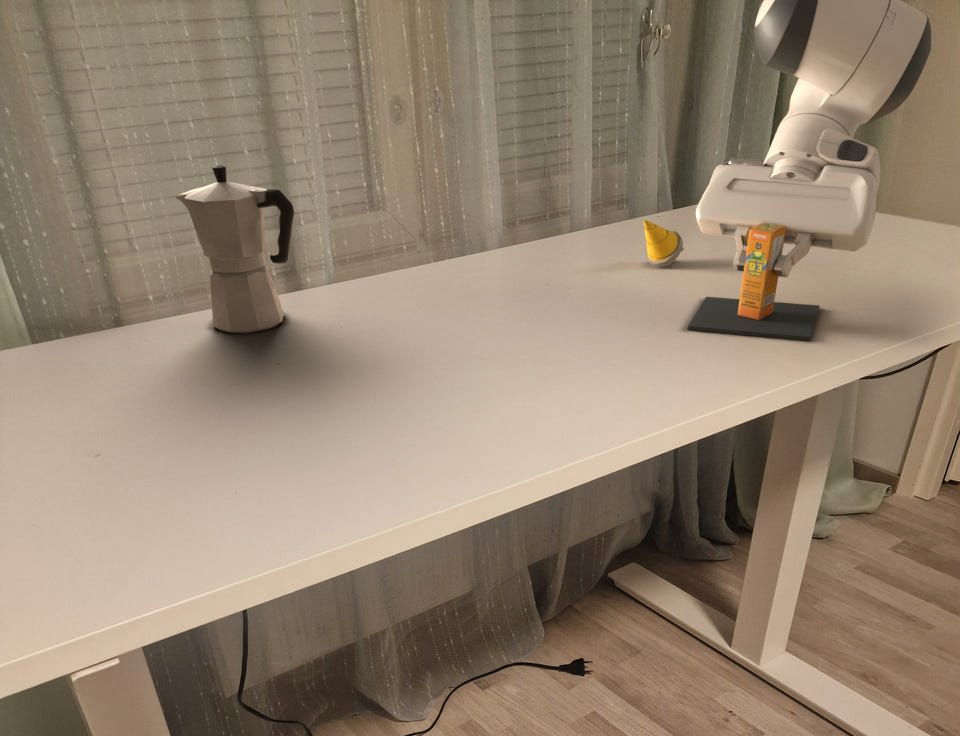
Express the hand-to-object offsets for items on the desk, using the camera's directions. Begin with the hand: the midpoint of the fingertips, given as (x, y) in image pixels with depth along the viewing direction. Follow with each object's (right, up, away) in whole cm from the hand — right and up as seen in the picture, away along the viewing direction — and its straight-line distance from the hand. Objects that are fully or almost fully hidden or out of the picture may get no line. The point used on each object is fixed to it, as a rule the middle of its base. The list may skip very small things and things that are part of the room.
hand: (759, 271), depth 101 cm
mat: (+1, -4, +4) cm, 6 cm away
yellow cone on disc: (-7, +11, +24) cm, 27 cm away
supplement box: (+1, -4, +4) cm, 6 cm away
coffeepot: (-62, -3, +10) cm, 63 cm away
